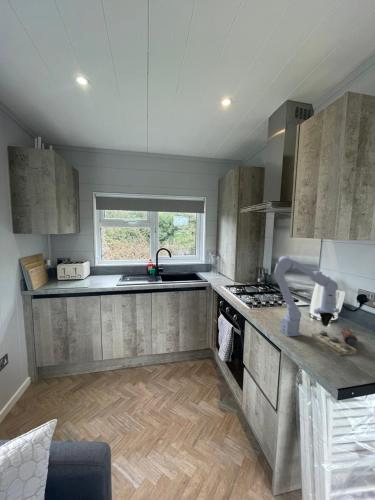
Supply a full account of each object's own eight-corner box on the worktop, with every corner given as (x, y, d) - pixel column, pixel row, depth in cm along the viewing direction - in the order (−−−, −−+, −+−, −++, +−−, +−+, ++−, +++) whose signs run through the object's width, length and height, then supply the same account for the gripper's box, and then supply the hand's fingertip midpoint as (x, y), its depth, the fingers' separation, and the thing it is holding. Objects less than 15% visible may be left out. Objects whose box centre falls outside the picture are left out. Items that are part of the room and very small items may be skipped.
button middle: (334, 343, 112) (334, 340, 112) (329, 340, 115) (329, 337, 115) (339, 342, 113) (339, 339, 113) (333, 339, 116) (334, 336, 115)
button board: (339, 355, 104) (340, 351, 104) (311, 337, 121) (311, 333, 120) (355, 353, 107) (356, 348, 107) (326, 335, 123) (326, 331, 123)
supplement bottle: (349, 326, 120) (355, 335, 110) (356, 336, 119) (362, 346, 109) (338, 329, 123) (342, 339, 112) (344, 339, 122) (349, 350, 112)
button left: (323, 336, 118) (324, 333, 118) (319, 333, 121) (319, 331, 121) (328, 336, 119) (328, 333, 119) (323, 333, 122) (323, 330, 122)
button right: (346, 352, 106) (346, 349, 106) (340, 348, 109) (340, 345, 109) (350, 351, 107) (351, 348, 106) (345, 348, 110) (345, 345, 109)
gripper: (323, 304, 112) (320, 330, 114) (345, 303, 116) (342, 327, 117) (312, 300, 119) (309, 323, 120) (333, 298, 122) (330, 321, 124)
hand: (324, 325), depth 119 cm, fingers closed
